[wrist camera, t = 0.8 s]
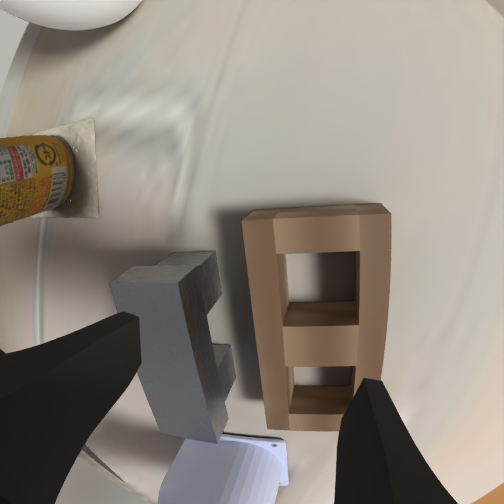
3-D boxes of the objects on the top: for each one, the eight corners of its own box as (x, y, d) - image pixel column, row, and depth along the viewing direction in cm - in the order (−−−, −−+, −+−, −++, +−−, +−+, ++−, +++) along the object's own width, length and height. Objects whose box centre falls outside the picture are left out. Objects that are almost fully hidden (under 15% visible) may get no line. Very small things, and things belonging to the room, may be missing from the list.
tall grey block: (195, 377, 24) (161, 433, 18) (165, 245, 21) (109, 282, 15) (243, 382, 23) (217, 443, 17) (221, 242, 20) (177, 282, 14)
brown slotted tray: (274, 401, 23) (267, 429, 20) (254, 210, 19) (241, 220, 16) (369, 401, 21) (371, 430, 19) (381, 203, 17) (391, 213, 14)
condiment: (27, 135, 21) (-90, 153, 10) (95, 117, 19) (-52, 122, 8) (33, 217, 24) (-76, 260, 12) (101, 216, 22) (-35, 274, 11)
